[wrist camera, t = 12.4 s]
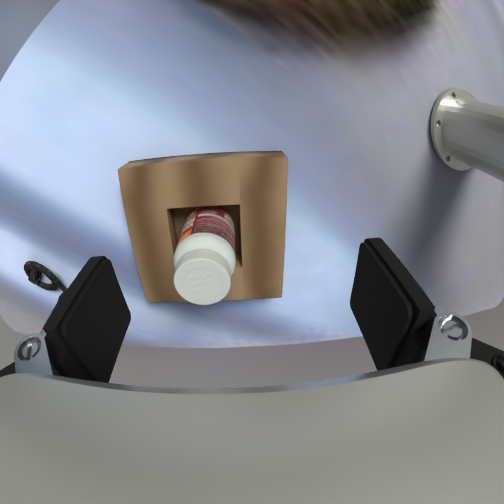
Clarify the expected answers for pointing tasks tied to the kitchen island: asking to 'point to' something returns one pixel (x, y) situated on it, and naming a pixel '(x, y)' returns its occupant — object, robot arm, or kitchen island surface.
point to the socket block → (208, 194)
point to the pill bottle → (205, 256)
